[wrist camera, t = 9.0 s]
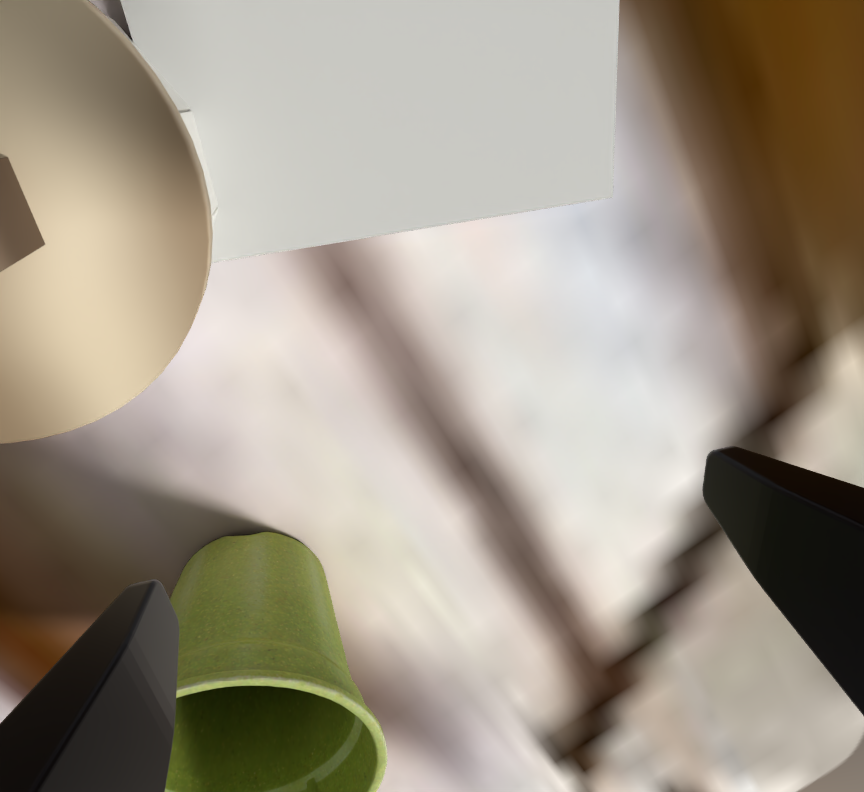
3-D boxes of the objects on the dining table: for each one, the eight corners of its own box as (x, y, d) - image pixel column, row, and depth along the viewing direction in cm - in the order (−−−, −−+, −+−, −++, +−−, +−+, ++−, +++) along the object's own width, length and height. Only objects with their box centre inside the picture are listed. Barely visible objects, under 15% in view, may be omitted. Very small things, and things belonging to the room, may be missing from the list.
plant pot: (88, 610, 24) (-3, 841, 17) (225, 454, 22) (191, 637, 15) (274, 683, 29) (267, 894, 21) (402, 557, 27) (446, 740, 19)
